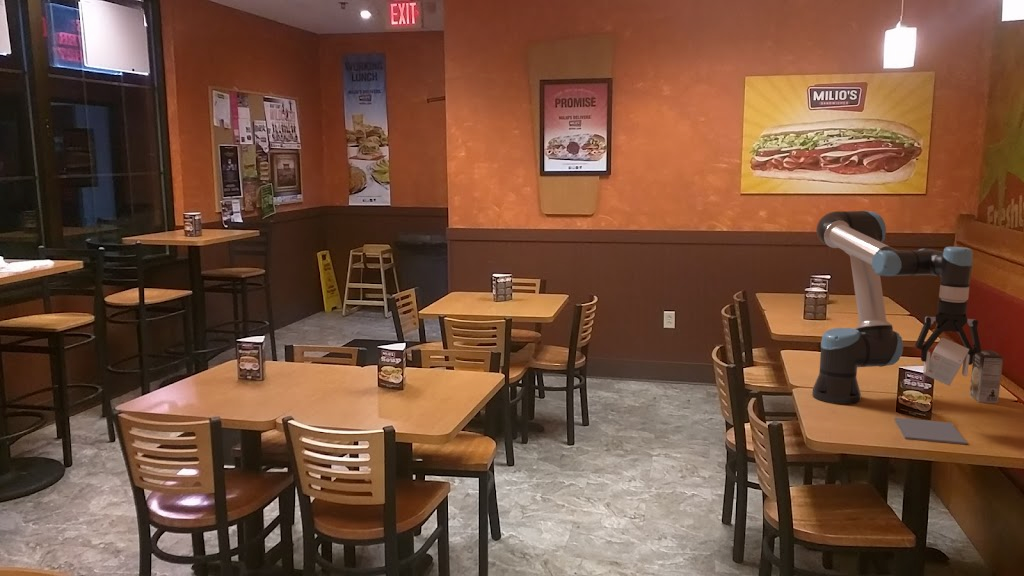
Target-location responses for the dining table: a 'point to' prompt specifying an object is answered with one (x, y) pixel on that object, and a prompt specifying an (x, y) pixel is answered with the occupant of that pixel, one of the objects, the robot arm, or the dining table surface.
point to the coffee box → (986, 376)
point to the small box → (946, 361)
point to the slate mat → (929, 431)
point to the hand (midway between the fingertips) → (945, 373)
